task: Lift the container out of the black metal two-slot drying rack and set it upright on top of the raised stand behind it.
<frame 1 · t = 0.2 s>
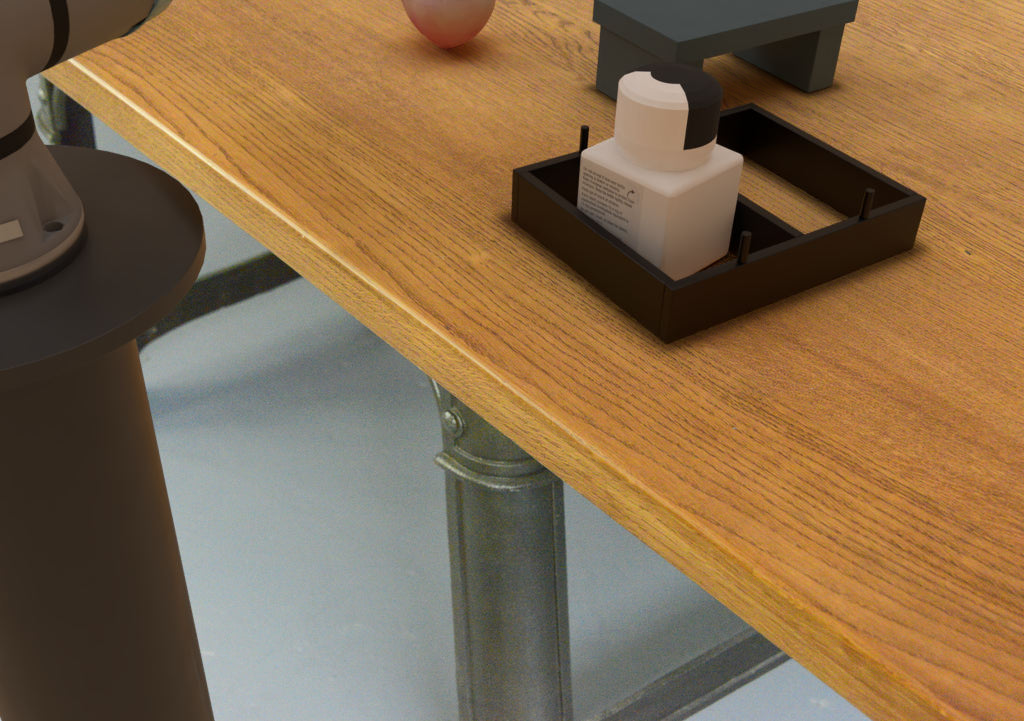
container: (650, 256, 79), resting in rack
stand: (714, 87, 102), on the table
decorative fruit: (449, 49, 107), on the table
rack: (710, 233, 82), on the table
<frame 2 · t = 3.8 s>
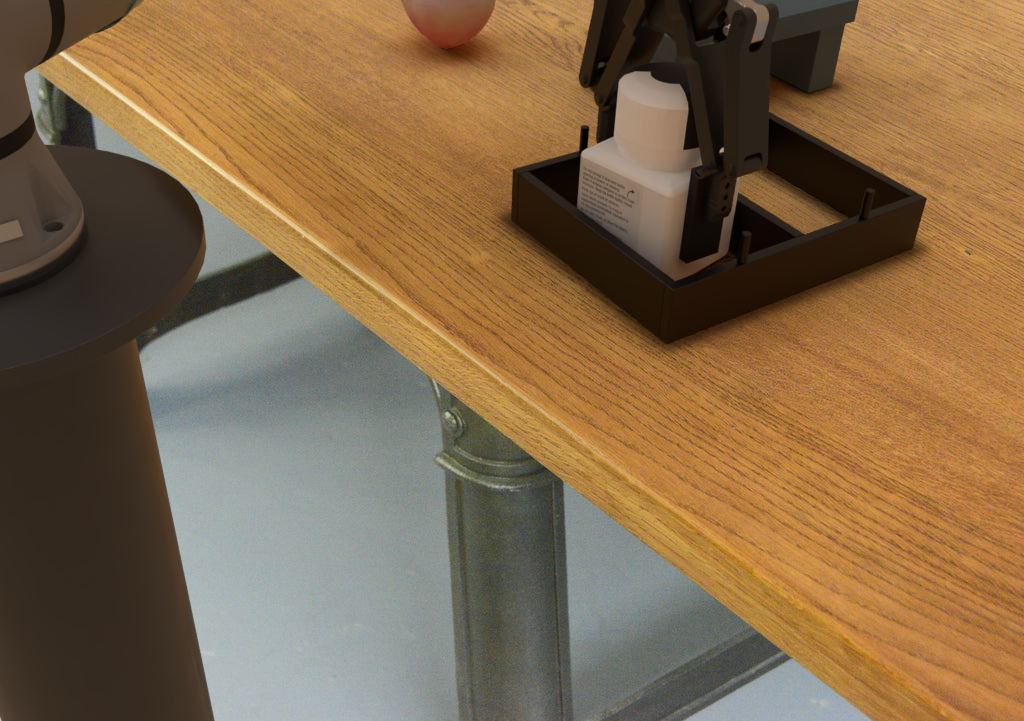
hand: (654, 223, 78), 2 cm above the table, tool pointing down, fingers closed on container, 8 cm apart
container: (650, 255, 79), resting in rack, touching gripper
everything else where it was.
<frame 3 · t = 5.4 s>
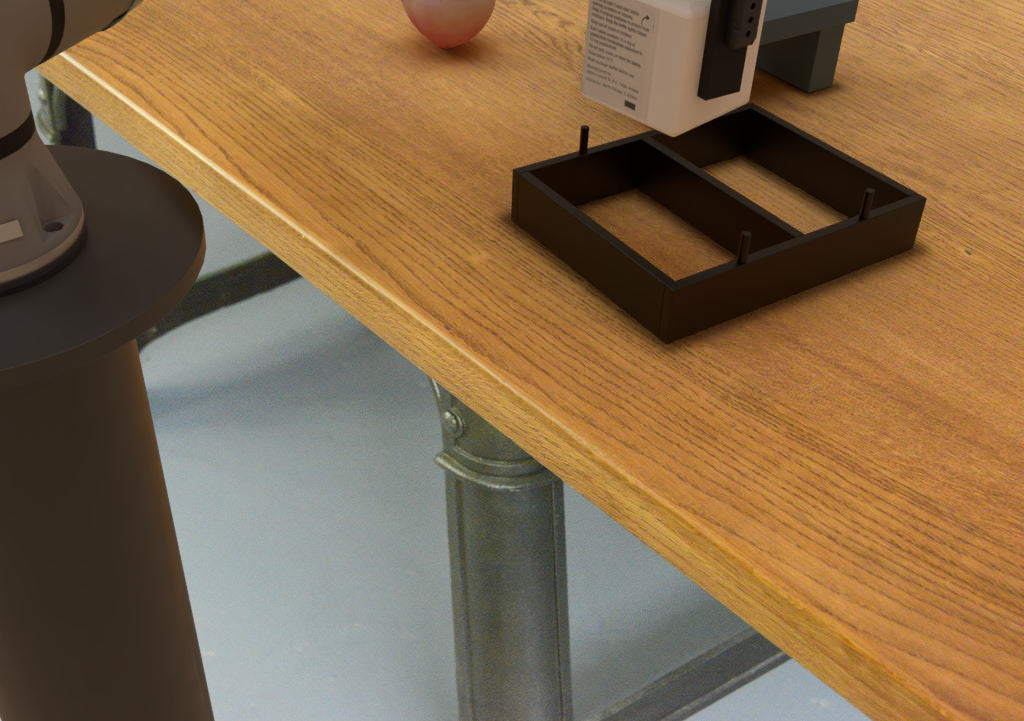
hand: (669, 65, 71), 14 cm above the table, tool pointing down, fingers closed on container, 8 cm apart
container: (664, 104, 73), point 11 cm above the table, touching gripper
everything else where it was.
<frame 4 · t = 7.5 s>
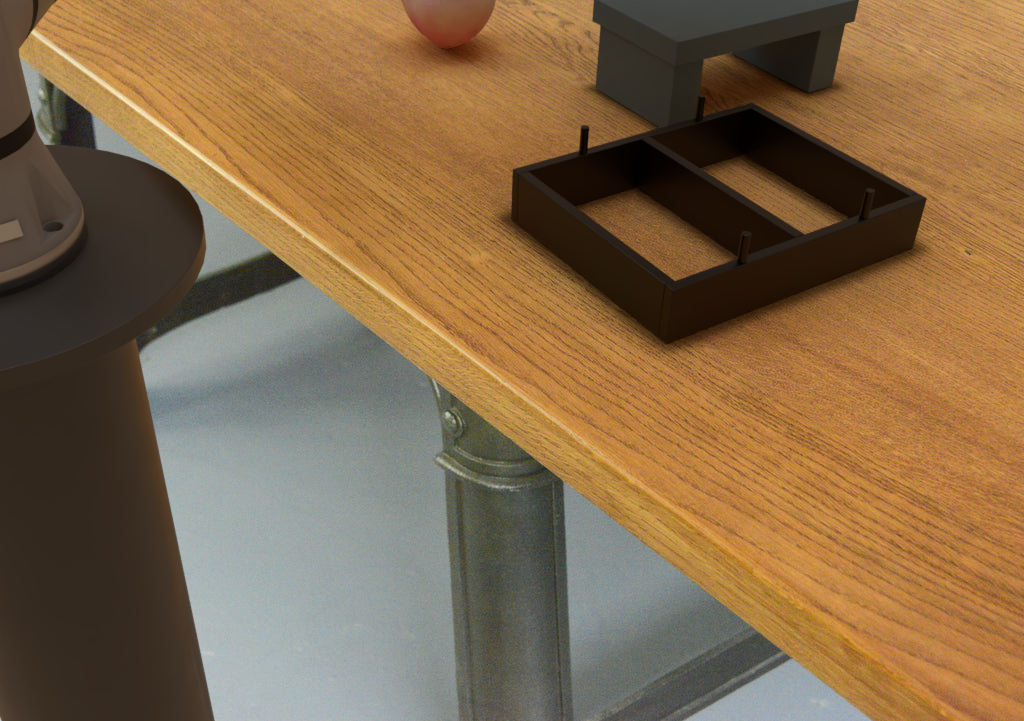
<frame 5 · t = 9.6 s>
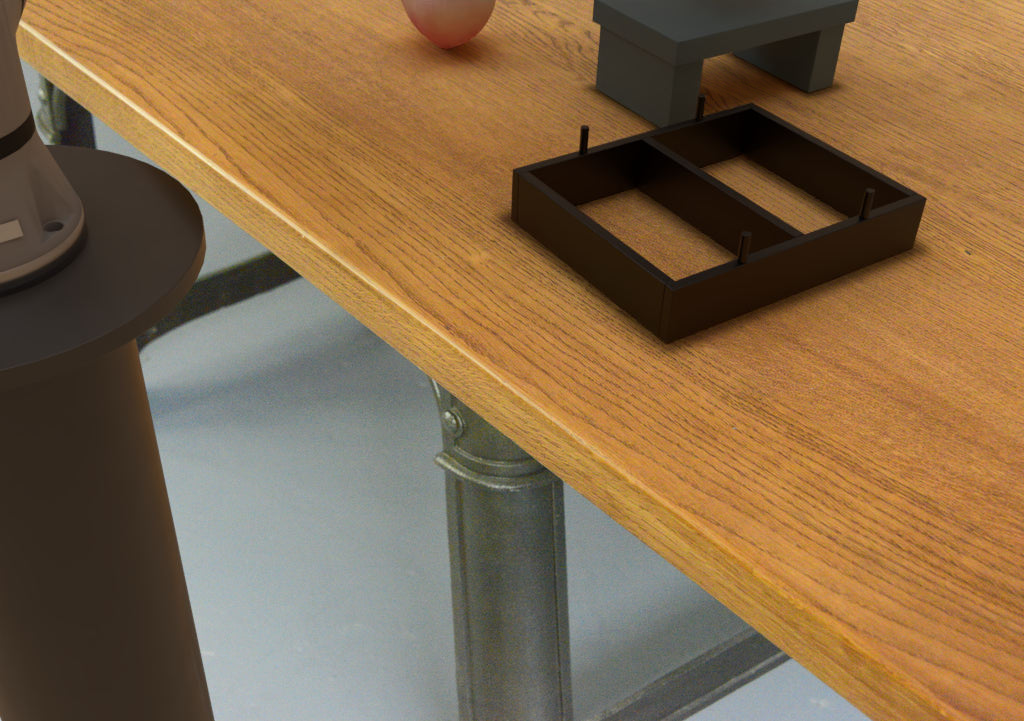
when the fingers open (10 cm above the table, at t = 11.2 s): container stays where it is, resting on stand.
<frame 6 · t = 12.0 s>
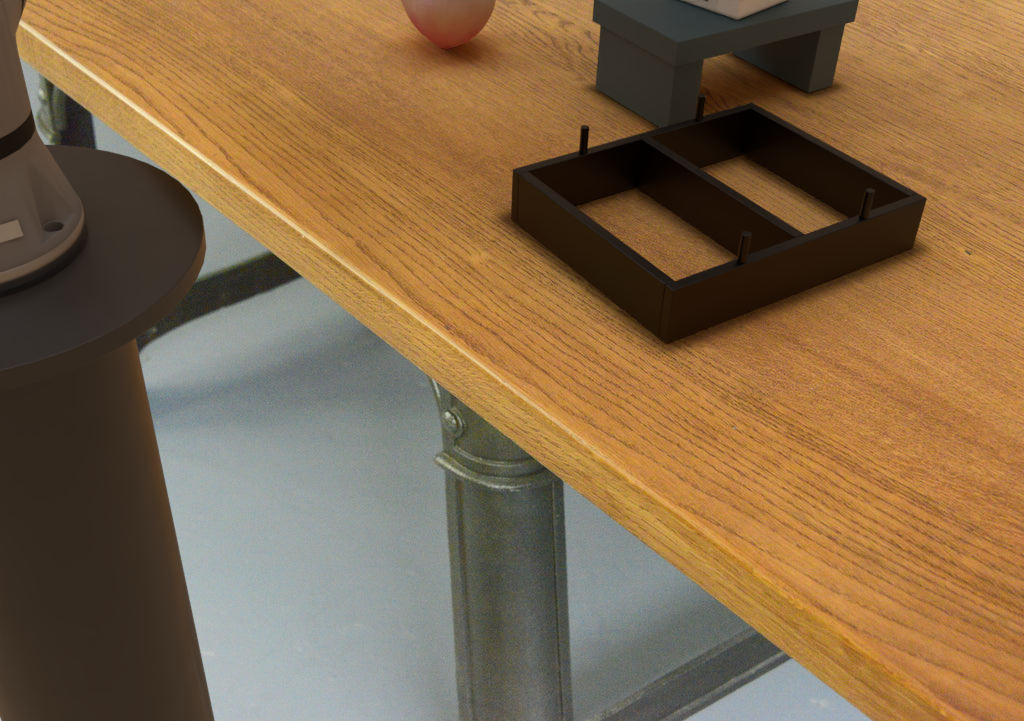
container: (727, 0, 97), point 8 cm above the table, touching stand
everything else where it was.
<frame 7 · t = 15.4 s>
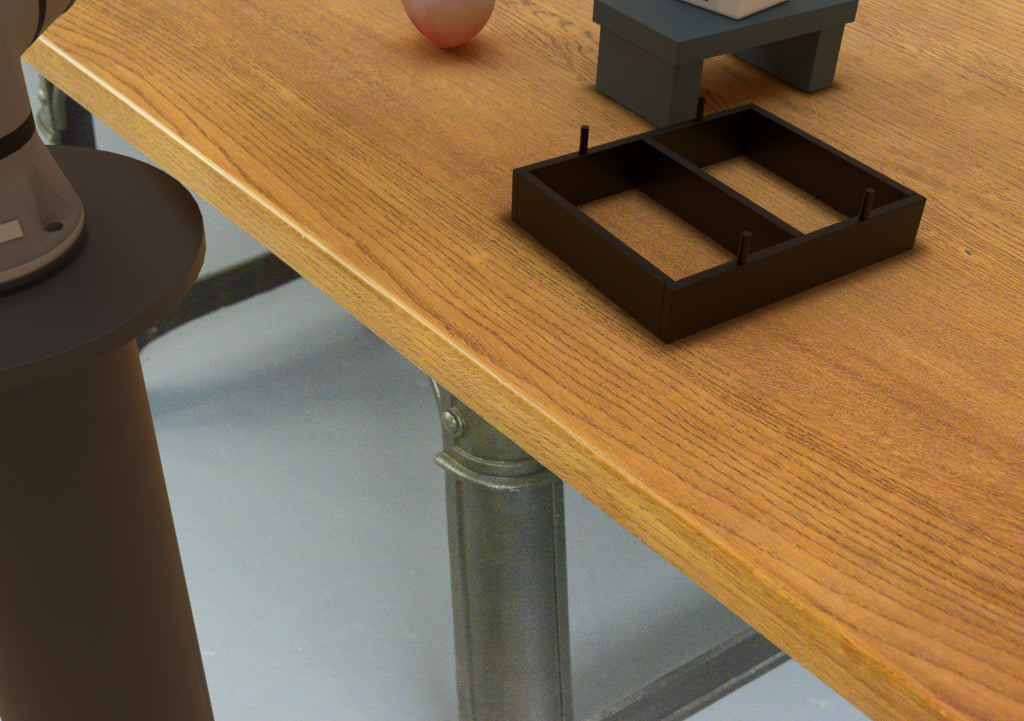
nothing on the table moved.
at the end: container inside the target area on the stand (0.0 cm from its centre), point 7.8 cm above the stand's base; container tilted 0° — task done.
